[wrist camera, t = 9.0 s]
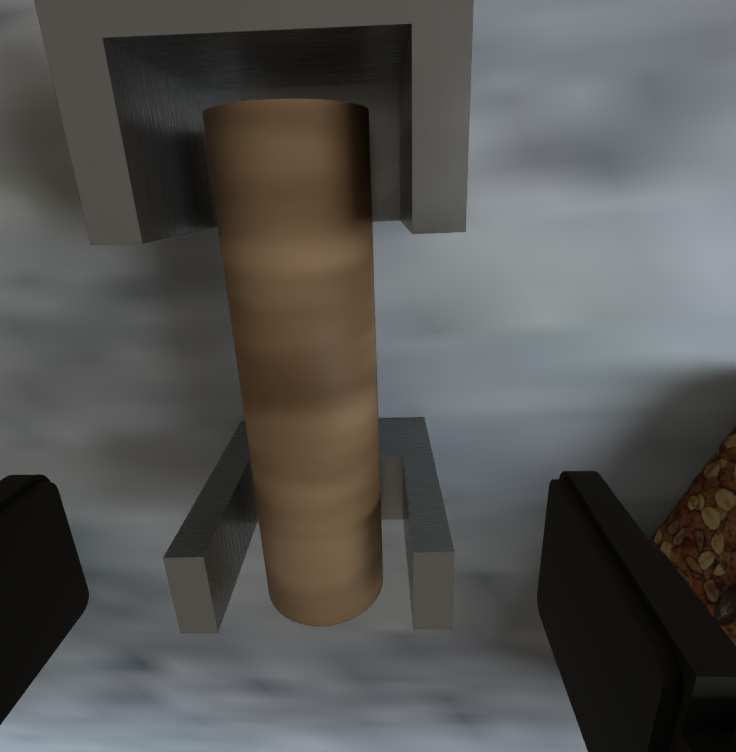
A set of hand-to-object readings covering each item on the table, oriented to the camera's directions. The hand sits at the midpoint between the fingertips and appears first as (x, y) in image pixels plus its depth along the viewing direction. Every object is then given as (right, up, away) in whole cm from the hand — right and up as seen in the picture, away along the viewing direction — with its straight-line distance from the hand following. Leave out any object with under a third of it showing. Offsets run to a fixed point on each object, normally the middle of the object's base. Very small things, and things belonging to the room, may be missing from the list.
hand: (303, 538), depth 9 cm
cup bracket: (-1, +11, +10) cm, 15 cm away
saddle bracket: (0, 0, +14) cm, 14 cm away
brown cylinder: (-1, +3, +7) cm, 7 cm away
